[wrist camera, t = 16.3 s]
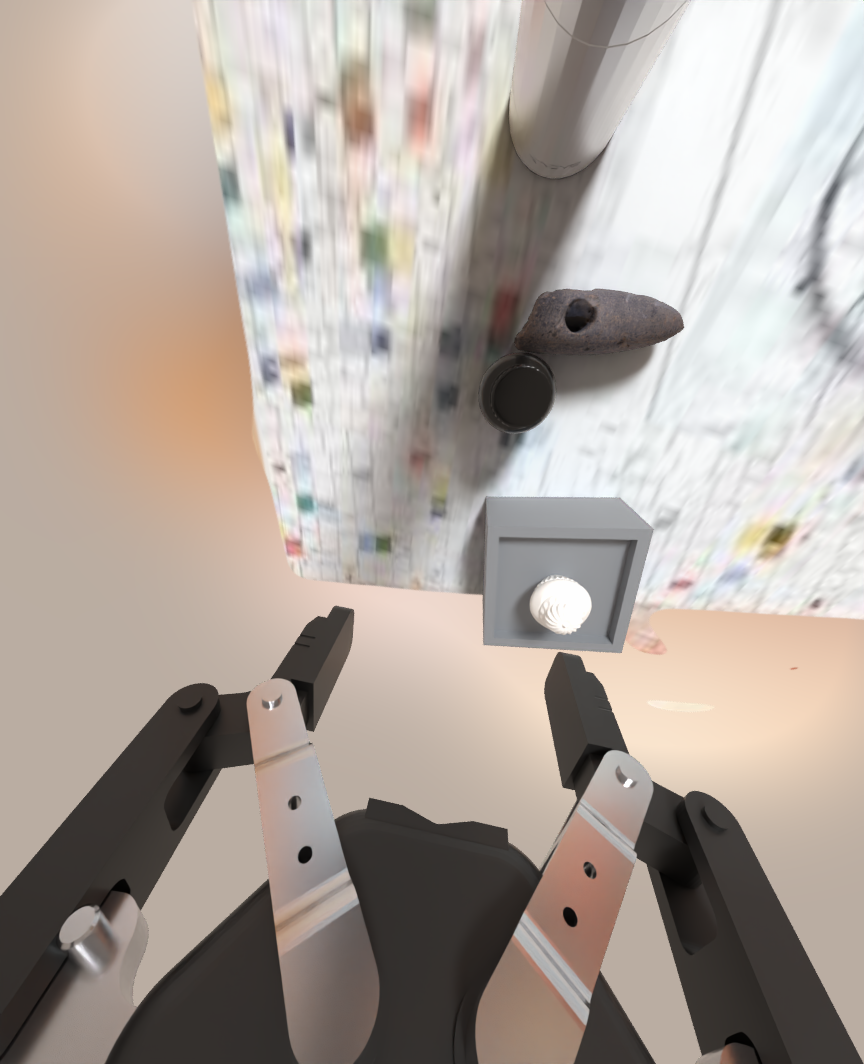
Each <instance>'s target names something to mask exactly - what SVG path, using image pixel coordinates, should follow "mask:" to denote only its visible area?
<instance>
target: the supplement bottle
mask: <svg viewBox="0 0 864 1064" xmlns="http://www.w3.org/2000/svg"><path fill="white" fill-rule="evenodd" d="M555 397H556V382H555V378H554V375H553V373H552V371H551V369H550V367H549V366H548V365H547V364H546V363H545V362H544V361H543V360H542V359H541V358H539V357H537V356H535V355H532V354H529V353H513V354H509V355H506V356H504V357H502V358H500V359H499V360H497V361H496V362H495V363H494V364H492V365H491V366H490V367H489V368H488V369H487V371H486V372H485V374H484V376H483V378H482V380H481V383H480V388H479V405H480V409H481V412H482V414H483V416H484V417H485V419H486V420H487V421H488V423H489V424H490V425H492V426H493V427H494V428H496V429H497V430H499V431H502V432H505V433H511V434H517V433H523V432H527V431H529V430H531V429H533V428H535V427H536V426H538V425H539V424H540V423H541V422H543V420H544V419H545V418H546V417H547V416H548V414H549V413H550V411H551V409H552V407H553V404H554V401H555Z"/></svg>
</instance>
